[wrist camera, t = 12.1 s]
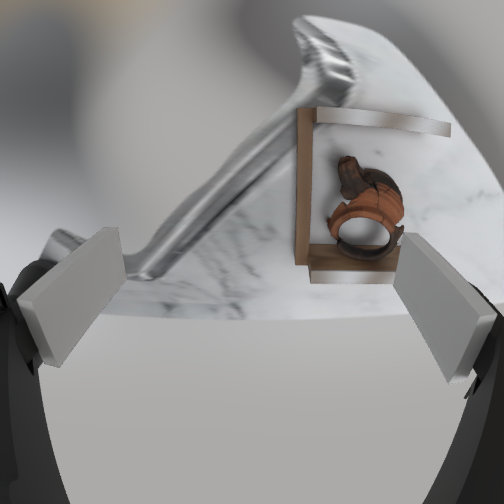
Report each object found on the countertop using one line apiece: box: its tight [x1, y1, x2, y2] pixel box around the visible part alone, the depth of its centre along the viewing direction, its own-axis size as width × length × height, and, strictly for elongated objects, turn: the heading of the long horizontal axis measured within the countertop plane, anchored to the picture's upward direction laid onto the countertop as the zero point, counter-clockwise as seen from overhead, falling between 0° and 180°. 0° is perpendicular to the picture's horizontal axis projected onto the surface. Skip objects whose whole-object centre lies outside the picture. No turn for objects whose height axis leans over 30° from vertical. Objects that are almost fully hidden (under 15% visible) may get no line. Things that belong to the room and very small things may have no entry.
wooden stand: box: [295, 106, 451, 284], centre depth 32 cm, size 16×18×7 cm
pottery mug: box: [327, 156, 404, 261], centre depth 33 cm, size 12×9×8 cm
